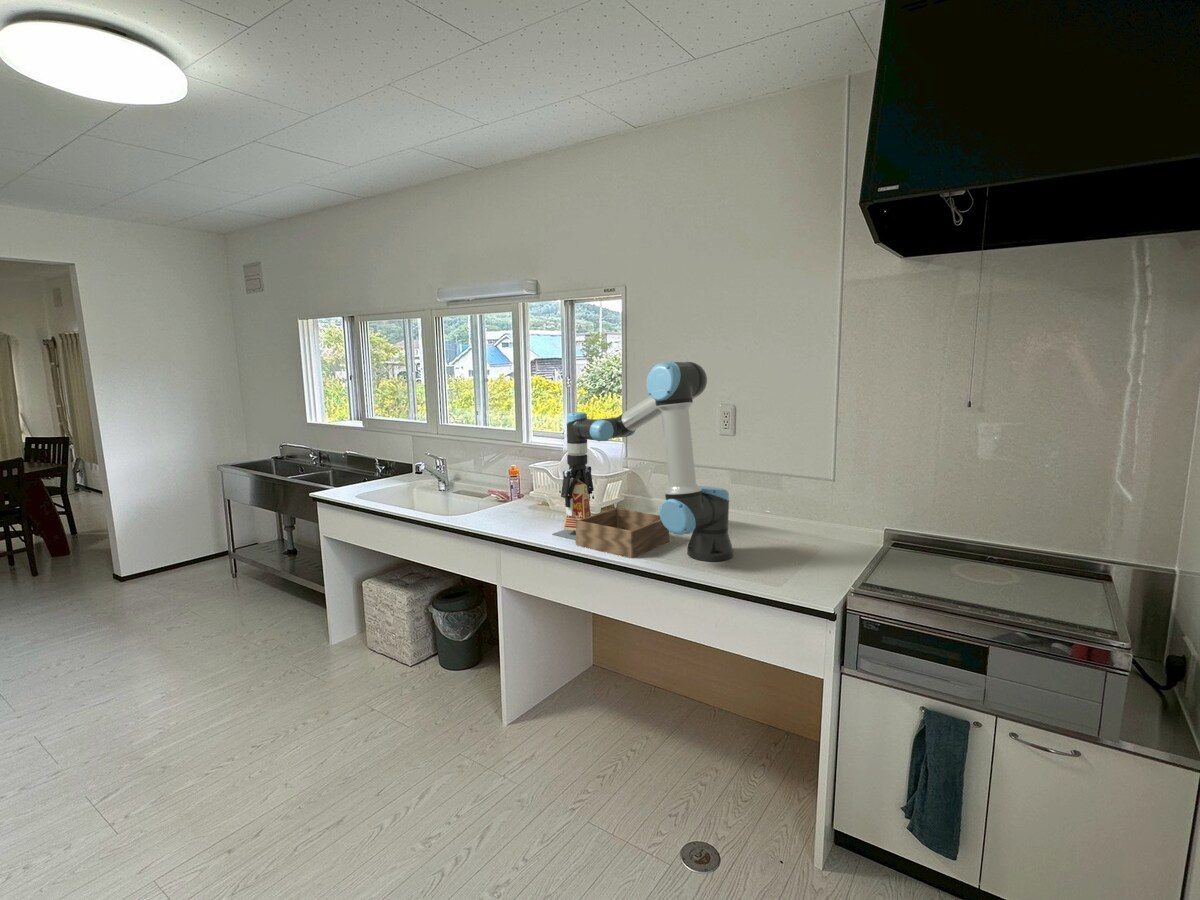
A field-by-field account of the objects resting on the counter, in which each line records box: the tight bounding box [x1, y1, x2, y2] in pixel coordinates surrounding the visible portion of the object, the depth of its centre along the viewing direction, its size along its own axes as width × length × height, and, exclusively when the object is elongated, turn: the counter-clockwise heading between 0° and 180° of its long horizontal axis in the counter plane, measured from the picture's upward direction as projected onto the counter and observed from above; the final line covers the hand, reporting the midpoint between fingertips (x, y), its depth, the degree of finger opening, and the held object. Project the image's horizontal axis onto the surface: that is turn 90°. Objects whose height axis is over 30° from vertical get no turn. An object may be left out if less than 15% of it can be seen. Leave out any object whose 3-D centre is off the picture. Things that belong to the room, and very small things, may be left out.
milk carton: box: [563, 479, 592, 530], centre depth 231 cm, size 9×9×20 cm
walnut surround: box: [575, 507, 670, 559], centre depth 219 cm, size 24×24×9 cm
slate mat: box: [551, 529, 576, 541], centre depth 232 cm, size 14×14×1 cm
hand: (577, 512), depth 231 cm, fingers closed on milk carton, 9 cm apart
